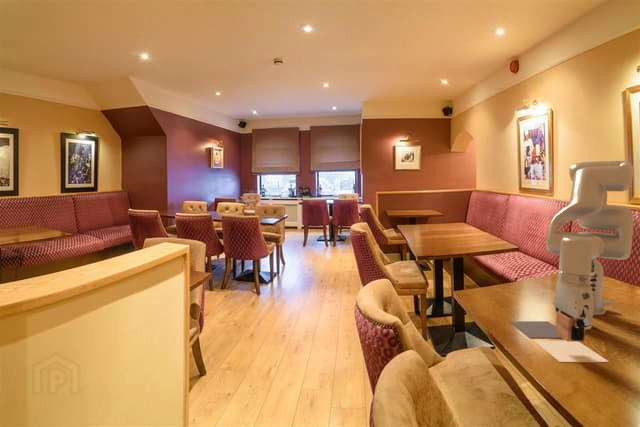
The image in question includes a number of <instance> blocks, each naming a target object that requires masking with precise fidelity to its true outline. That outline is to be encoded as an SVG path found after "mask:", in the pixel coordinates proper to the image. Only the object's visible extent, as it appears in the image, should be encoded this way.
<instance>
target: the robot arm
mask: <svg viewBox="0 0 640 427" xmlns="http://www.w3.org/2000/svg"><path fill="white" fill-rule="evenodd" d="M568 171H569V176H570V180H571V181H572V184H571V185H572V186H571V193H570V198H569V204H568V205H567V206H565V207H563V209H562V208H561V209H560V210H559V211H558V212H556V213H555V215H554V216H553V217H552V219H551V220H550V222H549V224H548V229H547V233H546V239H545V247H546V249H547V251H548V252H549V253H551V254H554V255H559V263H558V276H557V278H558V279H557V281H556V282H557V283H556V286H555V290H554V301H552V305H553V307H554V308H555V312H556V313H557V312H565V313H567V314H568V315H570V316H572V317H573V324H574V327H572V334H571V339H572V340H583V339H584V340H585V338H584V328H586V327H587V326H588V325H591V324H592V325H594V318H593V317H594V316H603V315H605V314H606V312H607V311H606V309H605V307H606V306H607V307H612V306H614V302H613V301H611V300H605V299H602V293H603V280H604V268H603V265H602V264H601V263H600V262H599V260H598V258H601V259H610V260H619V261H620V260H621V261H622V260H627V259H629V258H630V256H631V253H632V246H633V235H634V234H633V233H634V214H633V211H632V209H631V208H630V207H628V206H624V205H608V192H625V191H627V190H629V188H630V187H631V185H632V182H633V176H634V166H633V164H632V163H631V161H630V160H604V161H601V160H600V161H598V160H597V161H584V162H577V163H574V164H572V165H571V166H570V167H569V170H568ZM575 220H577V225H578V226H579V227H580V228H582V229H585V230H586V229H587V230H593V232H592V231H580V232H569V231H568V232H566V231H560V229H561V227H563V226H564V225H565V224H567V223H570V222H572V221H575ZM594 230H597V231H606V232H607V231H609V232H613V233H605V232H595V231H594ZM592 261H593V262H595V265H594V271H595V273H594V274H596V275H597V277H595V279H596V281H595V282H594V281H593V283H594V284H595V285H596V286H595V287H592V286H590V277H591V264H592ZM593 278H594V276H593ZM592 288H594V289H595V291H592ZM593 294H594V297H593ZM580 316H581V317H580ZM592 318H593V319H592ZM578 319H581V322H579V323H578ZM592 325H591V326H592Z"/></svg>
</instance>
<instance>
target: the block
mask: <svg viewBox="0 0 640 427" xmlns="http://www.w3.org/2000/svg"><path fill="white" fill-rule="evenodd" d="M580 317H581V316H580ZM555 321H556V322H555V326H556V332H555V334H557V335H558V336H560V337H561V338H560V339H562V340H563V341H567V342H580V343H582V342H585V337H586V330H585V328H584V339H583V340H572V339H571V334H572V327H574V324H573V317H572V316H570V315H568V314H567V313H565V312H556V319H555ZM579 322H581V319H578V323H579Z"/></svg>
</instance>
